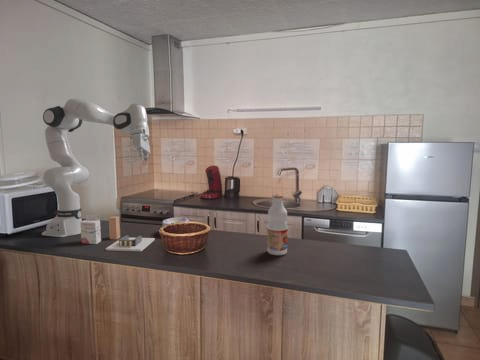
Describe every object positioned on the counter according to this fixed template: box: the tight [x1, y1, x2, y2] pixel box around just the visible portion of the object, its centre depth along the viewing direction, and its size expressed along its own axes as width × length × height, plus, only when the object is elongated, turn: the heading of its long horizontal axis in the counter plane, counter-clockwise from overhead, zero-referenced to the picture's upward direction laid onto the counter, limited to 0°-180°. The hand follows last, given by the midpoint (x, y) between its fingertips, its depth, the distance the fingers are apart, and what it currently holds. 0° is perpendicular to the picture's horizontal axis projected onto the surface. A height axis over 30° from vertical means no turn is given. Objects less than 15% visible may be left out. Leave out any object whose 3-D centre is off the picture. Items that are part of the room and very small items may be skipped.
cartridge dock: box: [105, 234, 156, 252], centre depth 161 cm, size 18×18×4 cm
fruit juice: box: [266, 193, 288, 256], centre depth 148 cm, size 9×9×28 cm
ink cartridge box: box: [80, 214, 102, 245], centre depth 164 cm, size 9×5×15 cm, turn 84°
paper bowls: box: [161, 217, 190, 227], centre depth 181 cm, size 15×15×8 cm
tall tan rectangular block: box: [108, 215, 121, 241], centre depth 171 cm, size 4×4×12 cm
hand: (143, 159), depth 164 cm, fingers open, 8 cm apart
